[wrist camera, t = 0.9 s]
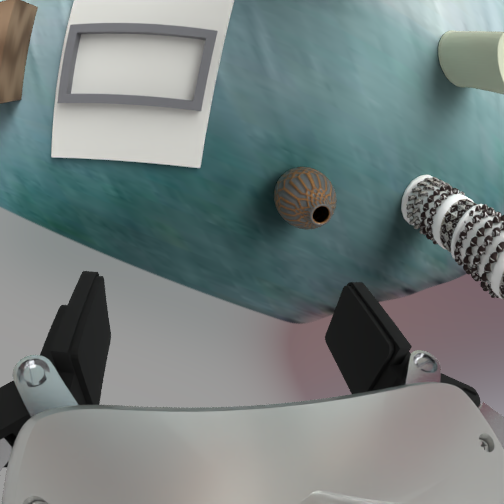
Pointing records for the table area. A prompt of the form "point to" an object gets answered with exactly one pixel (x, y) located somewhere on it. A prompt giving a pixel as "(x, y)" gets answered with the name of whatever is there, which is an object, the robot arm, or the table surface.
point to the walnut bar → (14, 46)
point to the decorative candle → (459, 228)
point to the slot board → (138, 79)
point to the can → (473, 59)
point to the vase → (305, 198)
